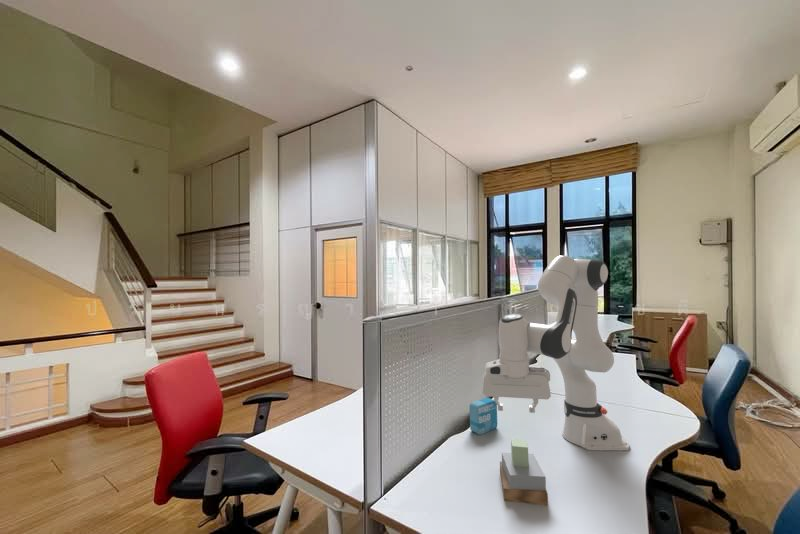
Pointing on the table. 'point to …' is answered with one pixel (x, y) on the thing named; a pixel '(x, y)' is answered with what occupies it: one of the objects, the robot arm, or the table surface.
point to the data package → (483, 415)
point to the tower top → (524, 474)
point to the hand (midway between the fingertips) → (516, 411)
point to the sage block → (519, 453)
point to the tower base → (522, 493)
